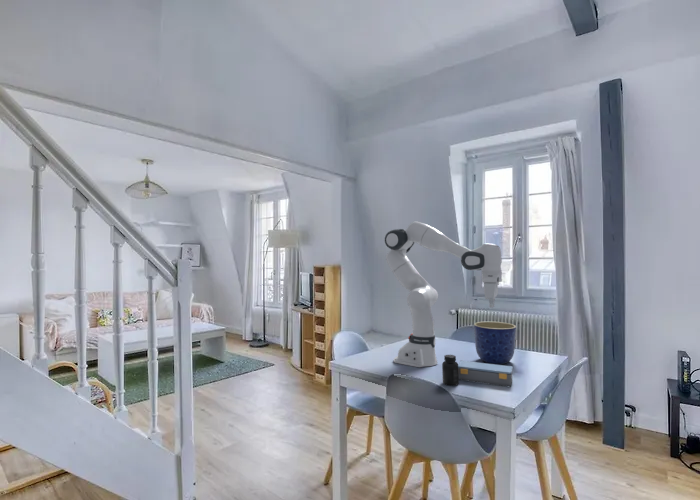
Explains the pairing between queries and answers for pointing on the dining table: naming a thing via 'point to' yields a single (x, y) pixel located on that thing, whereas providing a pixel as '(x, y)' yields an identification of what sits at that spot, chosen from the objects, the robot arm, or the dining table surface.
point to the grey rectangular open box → (485, 377)
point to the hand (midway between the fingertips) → (491, 307)
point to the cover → (485, 368)
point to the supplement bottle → (450, 371)
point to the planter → (495, 341)
